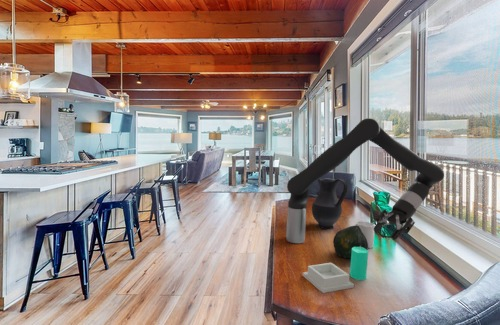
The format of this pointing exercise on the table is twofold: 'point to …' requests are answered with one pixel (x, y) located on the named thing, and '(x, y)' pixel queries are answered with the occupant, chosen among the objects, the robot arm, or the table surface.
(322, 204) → the pitcher
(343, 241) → the squash
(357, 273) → the candle
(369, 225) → the mug
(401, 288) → the table surface
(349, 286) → the candle stand
